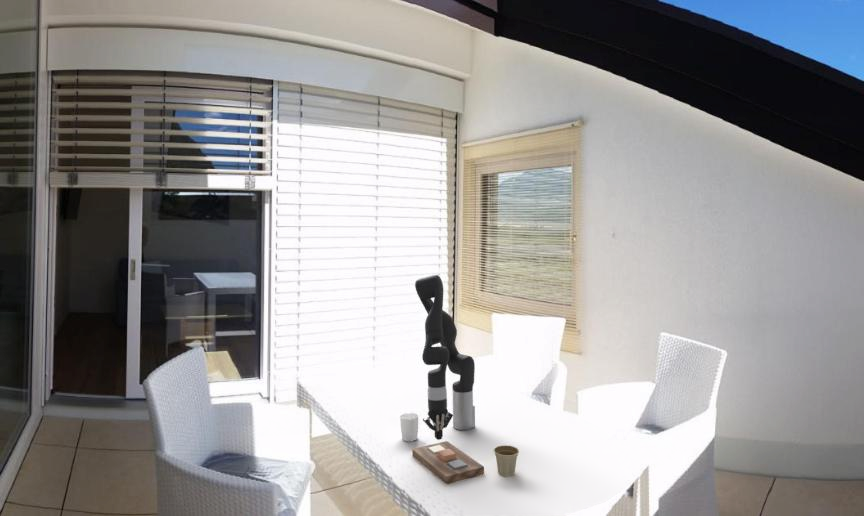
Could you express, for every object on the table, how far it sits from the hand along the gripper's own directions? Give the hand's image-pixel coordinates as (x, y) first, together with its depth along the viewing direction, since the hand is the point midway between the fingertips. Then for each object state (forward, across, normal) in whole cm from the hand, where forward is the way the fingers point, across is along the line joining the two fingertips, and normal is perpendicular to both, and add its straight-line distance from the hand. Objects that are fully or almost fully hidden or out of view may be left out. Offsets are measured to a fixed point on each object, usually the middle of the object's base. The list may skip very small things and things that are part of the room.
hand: (438, 438), depth 224 cm
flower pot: (+8, -15, +25) cm, 30 cm away
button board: (+8, +1, +8) cm, 11 cm away
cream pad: (+7, +1, 0) cm, 7 cm away
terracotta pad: (+6, +1, +8) cm, 9 cm away
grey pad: (+7, +1, +16) cm, 17 cm away
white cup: (+8, +1, -23) cm, 25 cm away
